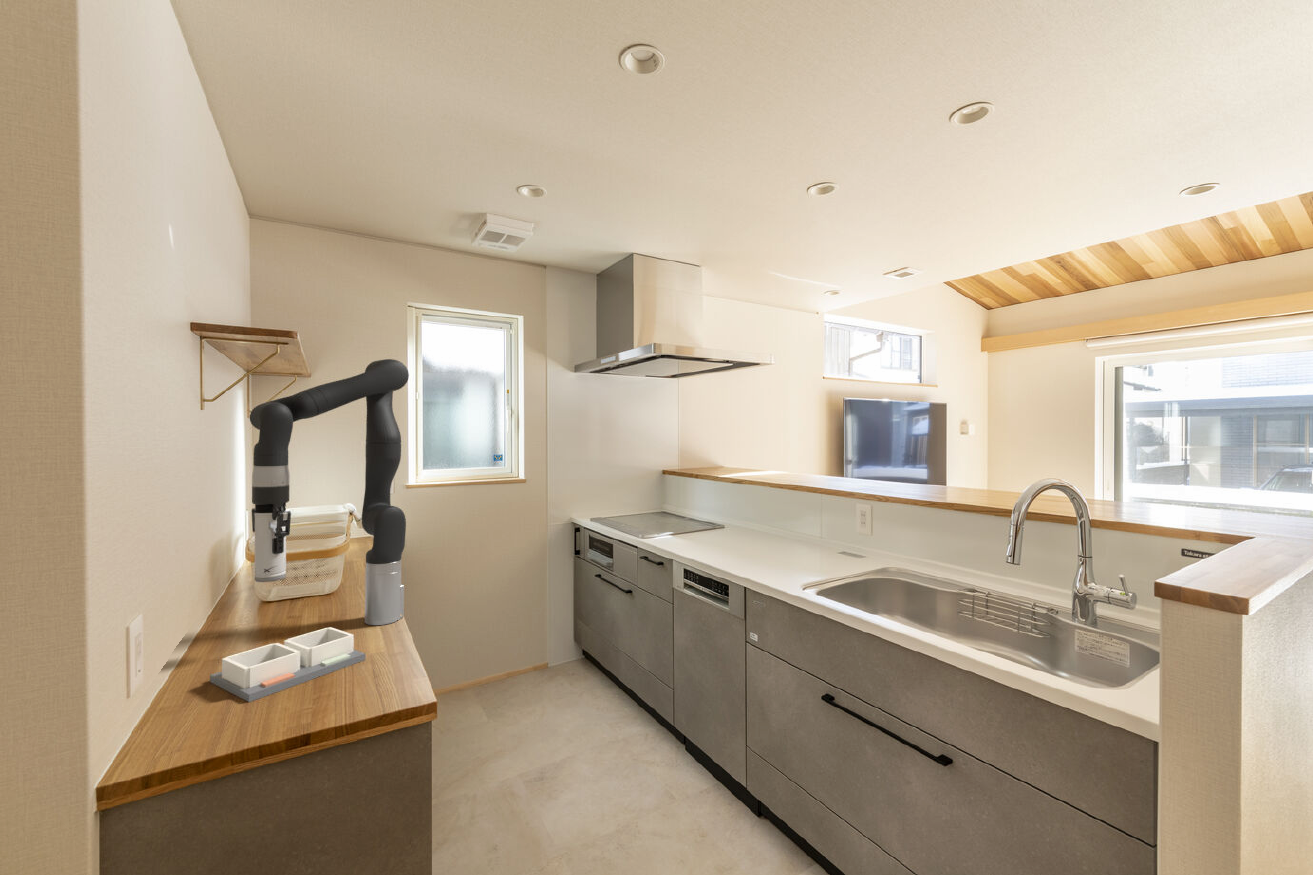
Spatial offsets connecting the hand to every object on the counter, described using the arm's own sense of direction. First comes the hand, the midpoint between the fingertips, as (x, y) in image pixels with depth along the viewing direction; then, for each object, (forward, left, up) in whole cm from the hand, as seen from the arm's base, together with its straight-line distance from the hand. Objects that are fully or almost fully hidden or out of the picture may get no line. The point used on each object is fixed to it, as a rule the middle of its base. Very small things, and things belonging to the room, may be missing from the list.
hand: (270, 551), depth 132 cm
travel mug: (0, 0, -7) cm, 7 cm away
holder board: (+3, +16, -24) cm, 30 cm away
